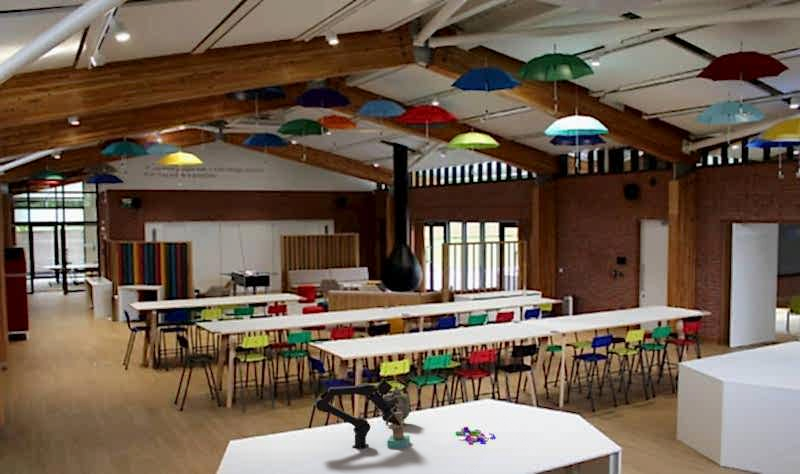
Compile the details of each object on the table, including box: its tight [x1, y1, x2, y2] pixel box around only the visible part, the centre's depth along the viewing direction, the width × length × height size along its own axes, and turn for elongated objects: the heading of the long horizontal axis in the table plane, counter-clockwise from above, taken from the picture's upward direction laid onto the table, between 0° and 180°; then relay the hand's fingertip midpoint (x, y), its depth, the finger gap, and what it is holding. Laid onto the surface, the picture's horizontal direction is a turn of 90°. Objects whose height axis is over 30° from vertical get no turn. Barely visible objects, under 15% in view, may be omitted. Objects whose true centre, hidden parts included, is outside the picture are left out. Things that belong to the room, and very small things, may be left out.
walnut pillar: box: [391, 412, 405, 440], centre depth 357 cm, size 5×5×13 cm
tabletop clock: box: [383, 381, 411, 427], centre depth 396 cm, size 14×9×25 cm, turn 73°
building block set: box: [454, 426, 496, 445], centre depth 369 cm, size 25×20×4 cm
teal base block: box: [386, 434, 411, 449], centre depth 357 cm, size 10×10×4 cm
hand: (400, 422), depth 357 cm, fingers open, 9 cm apart
